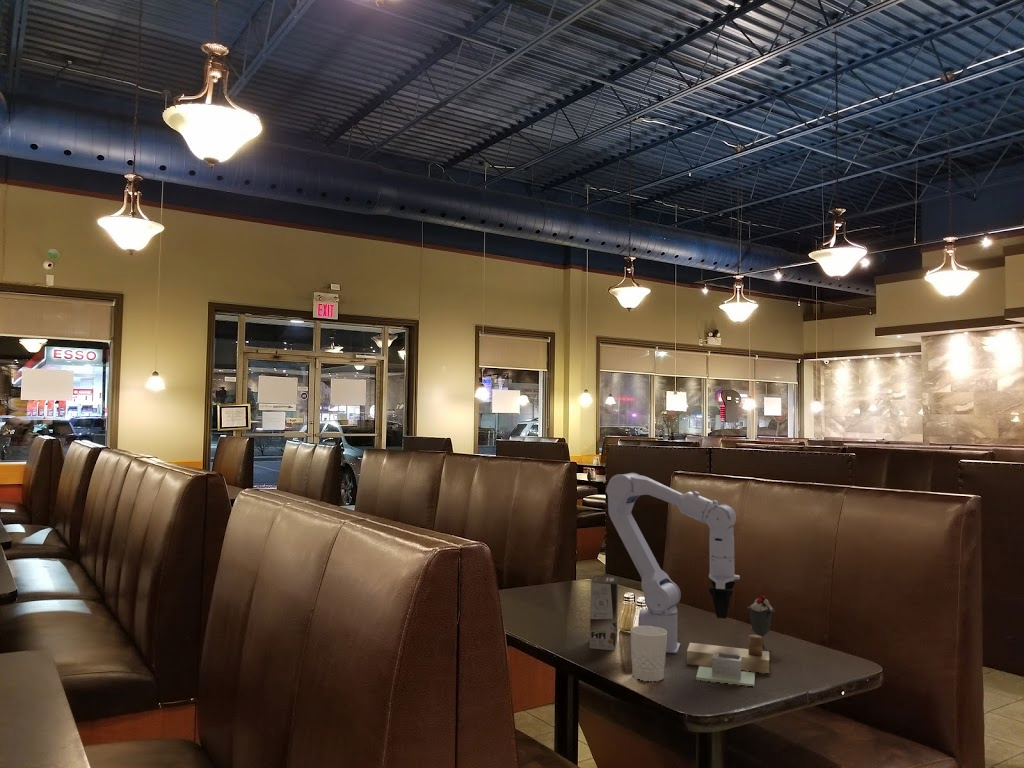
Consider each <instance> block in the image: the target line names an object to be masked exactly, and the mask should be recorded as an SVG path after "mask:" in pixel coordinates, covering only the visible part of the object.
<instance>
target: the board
mask: <svg viewBox="0 0 1024 768" xmlns="http://www.w3.org/2000/svg"><path fill="white" fill-rule="evenodd" d="M755 676H756V672H749V671H741V680H736V679H728V678H720V677H712V667H708V666H700V665H698V668H697V673H696V675H695V680H696V681H700V680H701V681H702V682H708V681H710V682H709V683H716V682H720V683H719V684H724V683H728V684H727V685H732V684H738V685H737V686H739V685H746V686H745V687H747V686H753V687H752V688H755V683H756V682H755ZM701 681H700V682H701Z"/></svg>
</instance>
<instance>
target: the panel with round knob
mask: <svg viewBox="0 0 1024 768" xmlns="http://www.w3.org/2000/svg"><path fill="white" fill-rule="evenodd" d="M713 652H716V653H719V652H721V653H730V654H739V655H742V659H741V670H745V671H744V672H749V671H751V673H757V672H759V673H760V674H765V673H769V674H770V652H769V651H762V636H759V635H757V634H748V648H740V647H732V646H723V645H722V646H721V645H716V644H715V645H713V644H707V643H706V644H705V643H697V642H696V643H695V642H689V644H688V647H687V649H686V664H687V665H692V666H693V665H694V666H702V667H710V668H712V656H713ZM759 673H758V674H759Z"/></svg>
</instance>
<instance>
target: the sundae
mask: <svg viewBox="0 0 1024 768" xmlns="http://www.w3.org/2000/svg"><path fill="white" fill-rule="evenodd" d="M762 592H763V591H762V589H760V591H759V593H758V597H756V599H755V600H754V602H753V603H752V604H751V605H748V606H747V607H746V609H747V610H748V611H749V617H750V625H751V629H752V632H754V634H755V635H759V636H762V651H769V653H770V652H772V649H770V648H768V647H766V645H764V637H765V636H766V635H767V634H768V633H769V632H770V627H771V620H772V615H773V613H775V612H776V610H775V608H773V607H772V605H771V602H770V601H769V600H768V599H767V598H766V596H765V595H763V594H762Z"/></svg>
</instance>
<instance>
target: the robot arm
mask: <svg viewBox="0 0 1024 768" xmlns="http://www.w3.org/2000/svg"><path fill="white" fill-rule="evenodd" d="M605 492H606V494H607V502H608V503H607V506H608V507H607V509H608V510H607V511H608V516H609V518H610V521H611V522H612V524H613V525H614V528H615V530H616V531H617V533H618V536H619V537H620V539H621V541H622V544H623V545H624V547H625V549H626V551H627V553H628V555H629V557H630V559H631V560H632V563H633V564H634V567H635V568H636V570H637V572H638V573H639V576H640V579H641V583H640V584H641V590H642V592H643V595H644V603H645V606H646V607H647V609H639V614H638V623H637V624H638V626H654V627H659V628H662V629H665V630H666V631H667V642H666V653H670V654H677V653H678V651H679V649H680V646H681V643H680V642H678V607H677V604H678V603H679V602H680V600H681V598H682V596H681V594H682V593H681V590H680V587H679V586H678V584H676V583H675V582H674V581H672V579H671V577H670V576H669V574H668V573H667V572H666V571H664V570H662V568H661V567H660V565H659V563H658V561H657V559H656V557H655V555H654V554H653V551H652V550H651V548H650V546H649V543H648V542H647V541H646V539H645V537H644V535H643V533H642V531H641V529H640V527H639V526H638V523H637V521H636V520H635V517H634V516H633V514H632V510H633V509H634V508H633V507H634V506H635V503H636V501H637V499H638V498H639V497H640V496H644V495H645V496H646V495H647V496H651V497H654V498H656V499H659V500H662V501H664V502H666V503H668V504H669V503H670V504H671V505H674V506H677V508H678V510H679V512H680V513H681V514H683V515H685V516H686V517H689V518H692V519H694V520H696V521H698V522H701V523H703V524H707V526H708V528H709V538H708V539H709V574H708V578H709V579H710V580H711V581H710V582H711V584H712V585H709V586H708V588H707V589H708V591H709V593H710V595H711V599H712V601H713V605H714V611H715V616H716V618H717V619H727V616H728V612H729V607H730V602H731V597H732V594H733V592H734V586H735V584H736V580H740V578H741V577H740V575H739V574H735V536H734V535H735V534H734V532H735V531H734V530H735V529H734V527H735V526H734V525H735V523H736V521H737V512H736V511H735V510H734V509H733V507H732V506H730V505H728V504H727V503H721V504H719V501H718V500H716V499H713V500H712V499H710V498H706V497H704V496H702V495H700V492H698V491H696V490H694V491H693V492H692V491H687V492H685V493H682V492H680V491H677V490H676V489H673V488H671V487H669V486H667V485H664V484H663V483H660V482H659V481H656V480H654V479H652V478H650V477H648V476H645V475H640V474H638V473H636V472H629V473H624V474H623V473H622V474H621V473H620V474H618V473H617V474H615V475H613V476H612V477H611V478H609V481H608V484H607V486H606V488H605Z"/></svg>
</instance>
